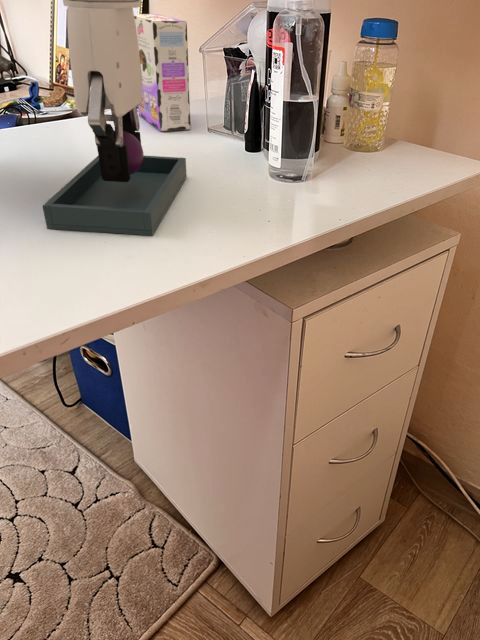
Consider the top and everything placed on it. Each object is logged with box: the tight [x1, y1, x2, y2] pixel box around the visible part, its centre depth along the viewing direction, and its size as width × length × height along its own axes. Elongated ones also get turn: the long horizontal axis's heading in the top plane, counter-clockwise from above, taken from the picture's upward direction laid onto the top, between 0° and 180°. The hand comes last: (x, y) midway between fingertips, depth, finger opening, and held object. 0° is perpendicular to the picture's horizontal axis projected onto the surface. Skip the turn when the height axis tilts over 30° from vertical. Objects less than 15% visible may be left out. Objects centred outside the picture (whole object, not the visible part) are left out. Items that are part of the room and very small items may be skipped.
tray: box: [42, 155, 188, 237], centre depth 65 cm, size 12×20×3 cm, turn 176°
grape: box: [123, 131, 145, 175], centre depth 62 cm, size 5×5×5 cm
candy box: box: [134, 13, 192, 132], centre depth 92 cm, size 14×6×16 cm, turn 27°
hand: (123, 171), depth 63 cm, fingers closed on grape, 4 cm apart
